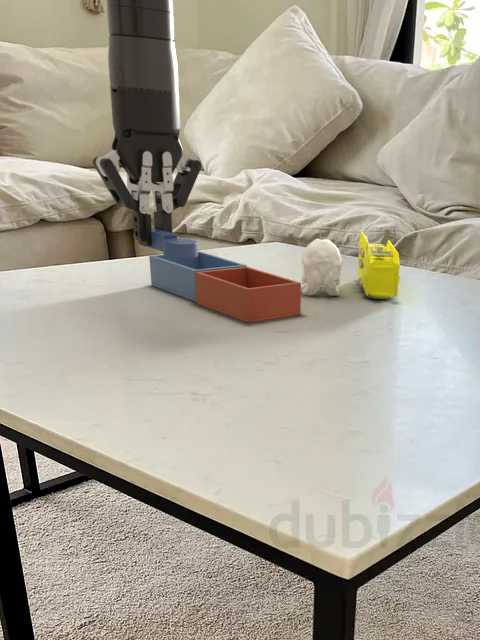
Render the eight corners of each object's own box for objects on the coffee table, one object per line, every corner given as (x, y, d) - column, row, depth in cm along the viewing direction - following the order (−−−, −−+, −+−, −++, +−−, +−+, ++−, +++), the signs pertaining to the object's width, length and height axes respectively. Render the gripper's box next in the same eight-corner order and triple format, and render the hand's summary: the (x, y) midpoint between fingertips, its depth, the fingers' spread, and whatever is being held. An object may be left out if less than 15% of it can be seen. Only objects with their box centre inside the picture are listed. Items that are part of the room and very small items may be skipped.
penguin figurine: (302, 239, 117) (298, 234, 128) (302, 297, 120) (297, 288, 131) (344, 241, 118) (336, 236, 129) (342, 298, 121) (335, 289, 132)
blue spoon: (174, 259, 90) (174, 241, 89) (130, 244, 96) (129, 227, 95) (204, 257, 93) (204, 239, 92) (159, 243, 99) (158, 226, 98)
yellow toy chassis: (354, 279, 137) (357, 229, 133) (387, 280, 137) (390, 230, 133) (363, 300, 123) (365, 245, 119) (398, 301, 123) (402, 247, 119)
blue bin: (196, 302, 115) (194, 270, 113) (151, 285, 123) (149, 255, 120) (247, 295, 121) (247, 265, 119) (201, 279, 128) (200, 251, 126)
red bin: (248, 322, 106) (247, 289, 104) (196, 303, 114) (195, 272, 112) (300, 314, 112) (301, 282, 110) (248, 296, 120) (247, 266, 118)
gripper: (179, 88, 95) (185, 237, 103) (70, 78, 86) (86, 242, 94) (215, 91, 90) (218, 246, 98) (103, 81, 82) (117, 253, 89)
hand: (153, 244), depth 96 cm, fingers closed on blue spoon, 2 cm apart
